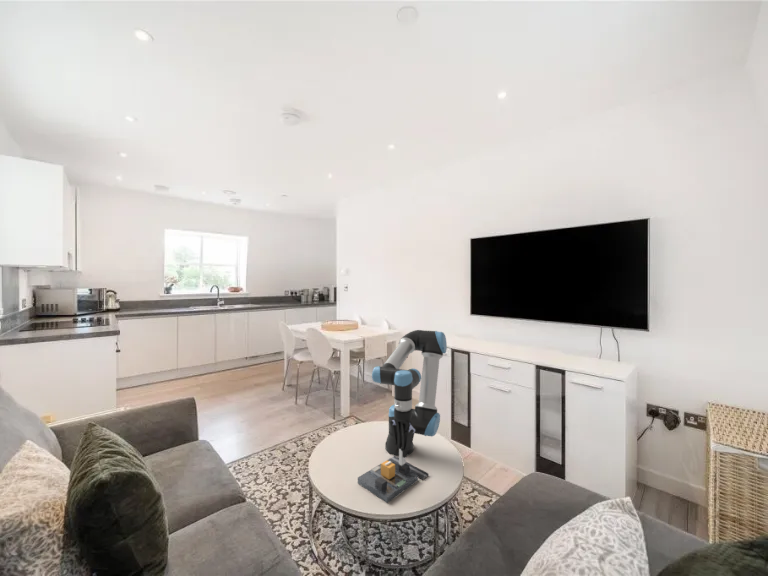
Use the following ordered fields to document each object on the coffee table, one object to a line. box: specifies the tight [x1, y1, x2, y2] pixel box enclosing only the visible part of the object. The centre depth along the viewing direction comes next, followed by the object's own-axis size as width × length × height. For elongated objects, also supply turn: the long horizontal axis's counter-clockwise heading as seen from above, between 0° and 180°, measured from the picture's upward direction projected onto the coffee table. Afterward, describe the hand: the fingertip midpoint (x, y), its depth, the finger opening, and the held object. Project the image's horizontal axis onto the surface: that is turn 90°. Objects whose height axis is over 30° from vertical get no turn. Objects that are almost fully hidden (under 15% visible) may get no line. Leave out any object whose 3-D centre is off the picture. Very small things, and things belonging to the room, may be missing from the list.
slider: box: [380, 459, 395, 479], centre depth 141 cm, size 4×5×6 cm
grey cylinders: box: [389, 455, 429, 480], centre depth 151 cm, size 5×21×1 cm, turn 46°
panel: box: [357, 458, 419, 504], centre depth 141 cm, size 20×18×6 cm
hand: (402, 463), depth 135 cm, fingers closed
